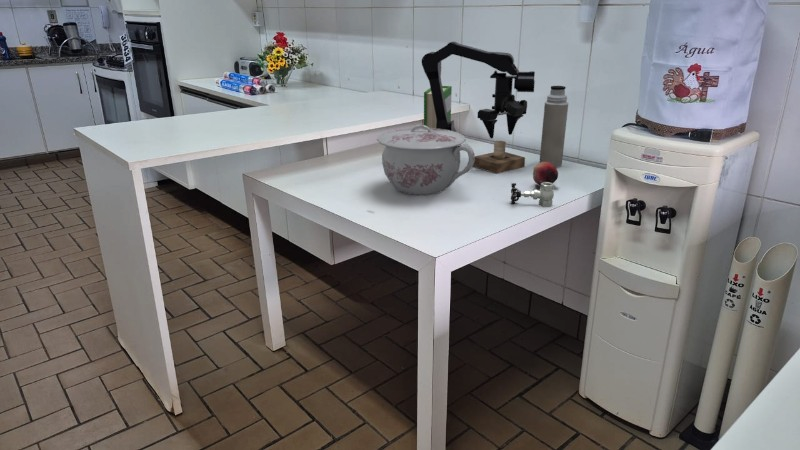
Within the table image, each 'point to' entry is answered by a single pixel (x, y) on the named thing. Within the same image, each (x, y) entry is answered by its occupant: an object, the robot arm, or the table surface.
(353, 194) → the table surface
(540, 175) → the fruit
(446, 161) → the chamber pot
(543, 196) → the valve
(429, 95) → the hardback book
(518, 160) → the socket block
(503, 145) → the peg
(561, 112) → the thermos bottle
